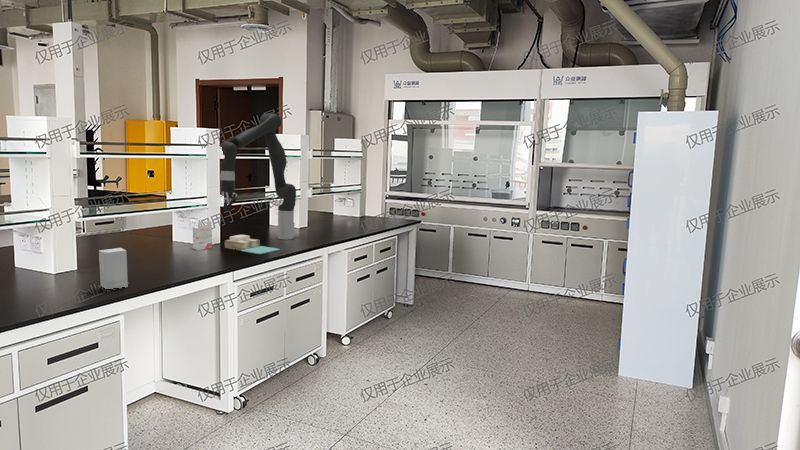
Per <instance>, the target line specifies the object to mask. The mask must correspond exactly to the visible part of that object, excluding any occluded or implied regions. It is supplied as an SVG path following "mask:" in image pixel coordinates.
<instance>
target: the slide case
mask: <svg viewBox="0 0 800 450" xmlns="http://www.w3.org/2000/svg"><path fill="white" fill-rule="evenodd" d="M250 238H251V236H250V235H248V234H247V235H246V234H236V235H231V236H229V240H232V241H243V240H249V239H250Z"/></svg>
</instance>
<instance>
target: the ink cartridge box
mask: <svg viewBox="0 0 800 450" xmlns="http://www.w3.org/2000/svg"><path fill="white" fill-rule="evenodd" d="M212 229H213V227H212V221H211V220H208V221H198V222H197V226H192V250H193V249H194V250H197V251H202V250H209V249H212V248H213V232H212V231H213V230H212Z"/></svg>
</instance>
